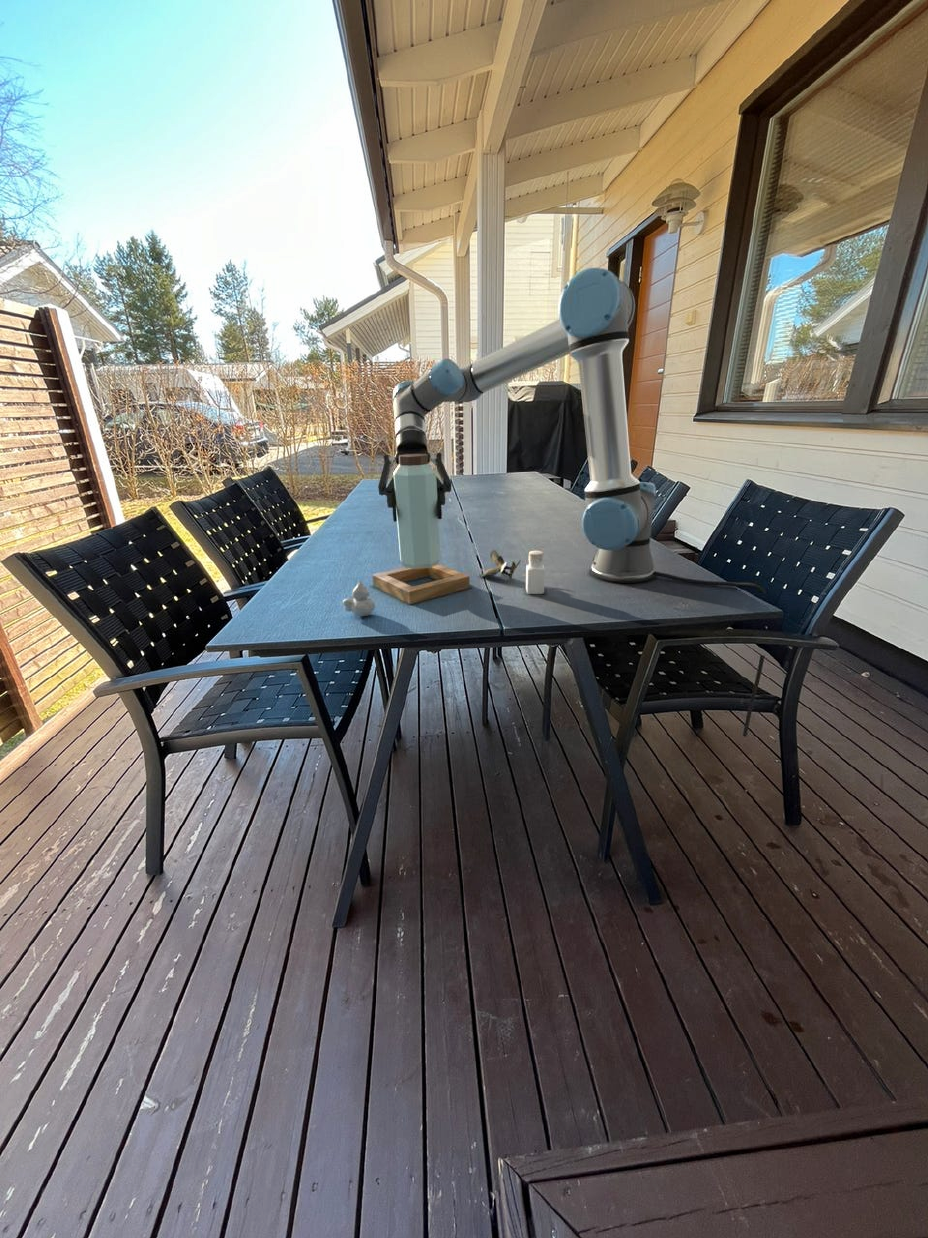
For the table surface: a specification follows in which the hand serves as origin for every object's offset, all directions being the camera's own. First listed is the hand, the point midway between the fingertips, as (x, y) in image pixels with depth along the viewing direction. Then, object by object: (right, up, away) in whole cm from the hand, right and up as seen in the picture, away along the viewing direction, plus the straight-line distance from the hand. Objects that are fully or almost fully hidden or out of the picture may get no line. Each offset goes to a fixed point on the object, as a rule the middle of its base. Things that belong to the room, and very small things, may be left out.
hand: (417, 516), depth 118 cm
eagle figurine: (+19, -13, +15) cm, 28 cm away
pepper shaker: (+27, -17, +4) cm, 32 cm away
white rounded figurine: (-12, -22, -7) cm, 26 cm away
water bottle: (0, -10, +7) cm, 13 cm away
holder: (0, -15, +10) cm, 18 cm away
